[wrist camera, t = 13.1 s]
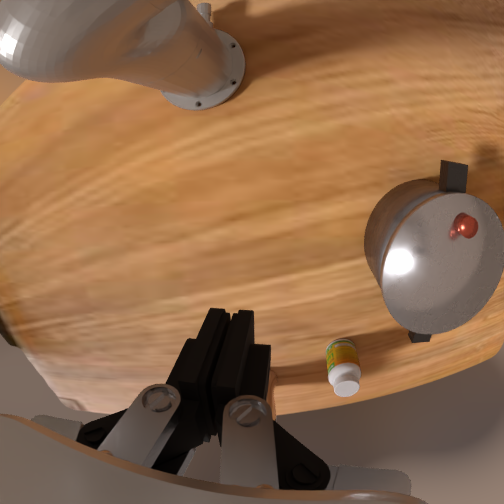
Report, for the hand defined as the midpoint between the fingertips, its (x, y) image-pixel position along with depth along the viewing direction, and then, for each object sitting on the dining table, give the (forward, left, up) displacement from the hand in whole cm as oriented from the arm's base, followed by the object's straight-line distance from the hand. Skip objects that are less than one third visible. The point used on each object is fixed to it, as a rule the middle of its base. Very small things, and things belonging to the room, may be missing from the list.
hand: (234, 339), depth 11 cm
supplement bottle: (+27, +12, -31) cm, 43 cm away
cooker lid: (+6, +22, -21) cm, 31 cm away
